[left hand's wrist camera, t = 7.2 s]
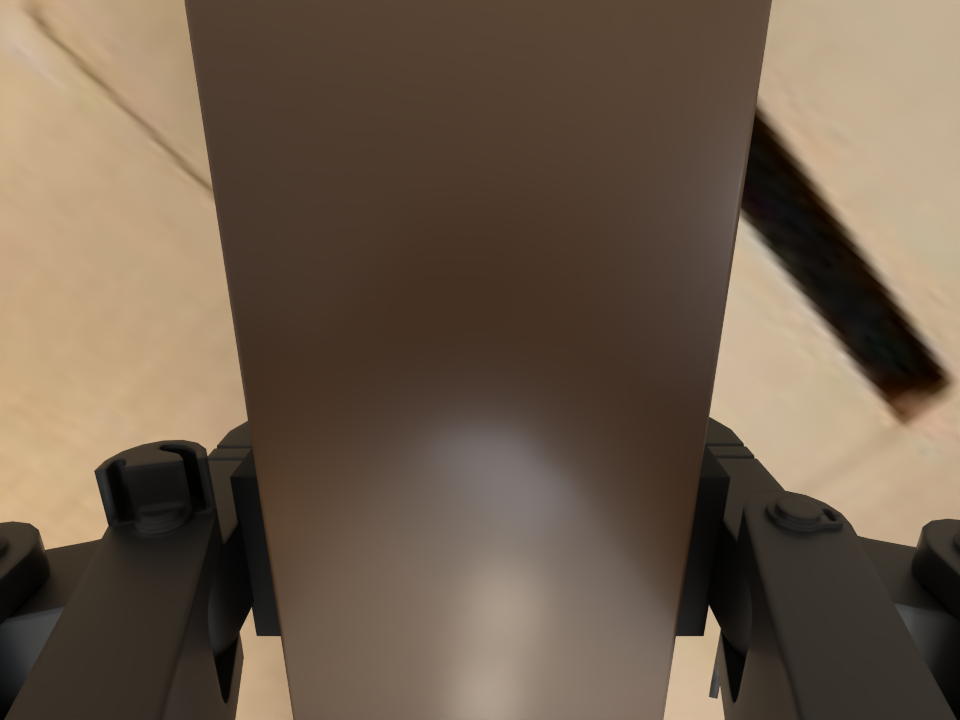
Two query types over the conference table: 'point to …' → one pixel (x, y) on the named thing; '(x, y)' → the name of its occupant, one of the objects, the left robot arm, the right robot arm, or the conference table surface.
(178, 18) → the conference table surface
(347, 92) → the bar
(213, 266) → the conference table surface
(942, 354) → the conference table surface
